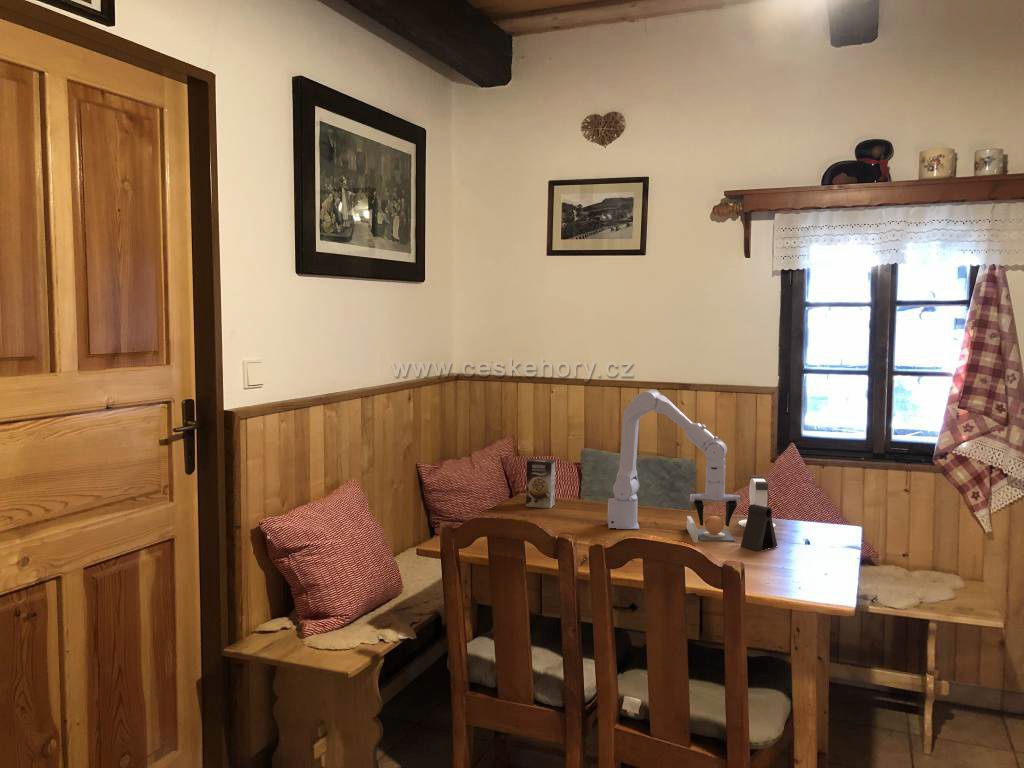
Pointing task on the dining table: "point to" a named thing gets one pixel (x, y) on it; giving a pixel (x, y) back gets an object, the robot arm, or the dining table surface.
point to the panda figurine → (757, 494)
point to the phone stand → (759, 529)
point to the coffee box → (540, 483)
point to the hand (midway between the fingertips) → (714, 525)
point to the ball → (714, 525)
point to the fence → (692, 529)
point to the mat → (715, 536)
